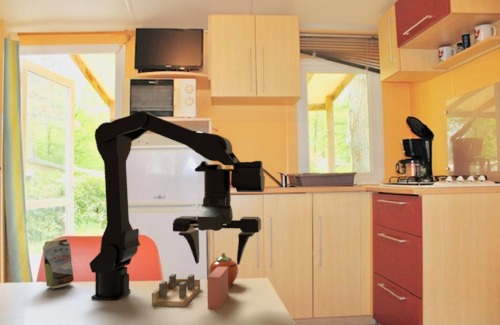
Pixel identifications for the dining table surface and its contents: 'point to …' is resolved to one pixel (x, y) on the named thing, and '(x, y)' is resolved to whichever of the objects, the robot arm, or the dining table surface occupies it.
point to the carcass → (176, 291)
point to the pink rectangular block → (217, 287)
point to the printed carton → (58, 263)
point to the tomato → (225, 262)
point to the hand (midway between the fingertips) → (217, 263)
